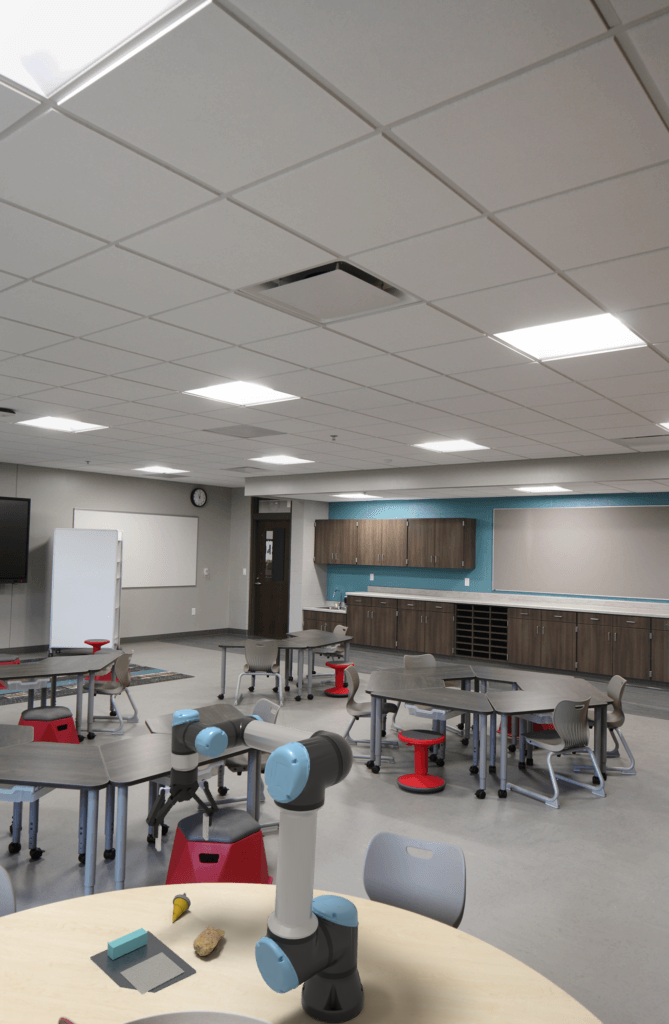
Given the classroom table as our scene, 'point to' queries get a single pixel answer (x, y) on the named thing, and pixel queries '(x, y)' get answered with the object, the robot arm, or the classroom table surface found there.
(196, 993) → the classroom table surface
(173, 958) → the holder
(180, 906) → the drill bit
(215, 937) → the stone tool
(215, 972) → the classroom table surface
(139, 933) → the bar
